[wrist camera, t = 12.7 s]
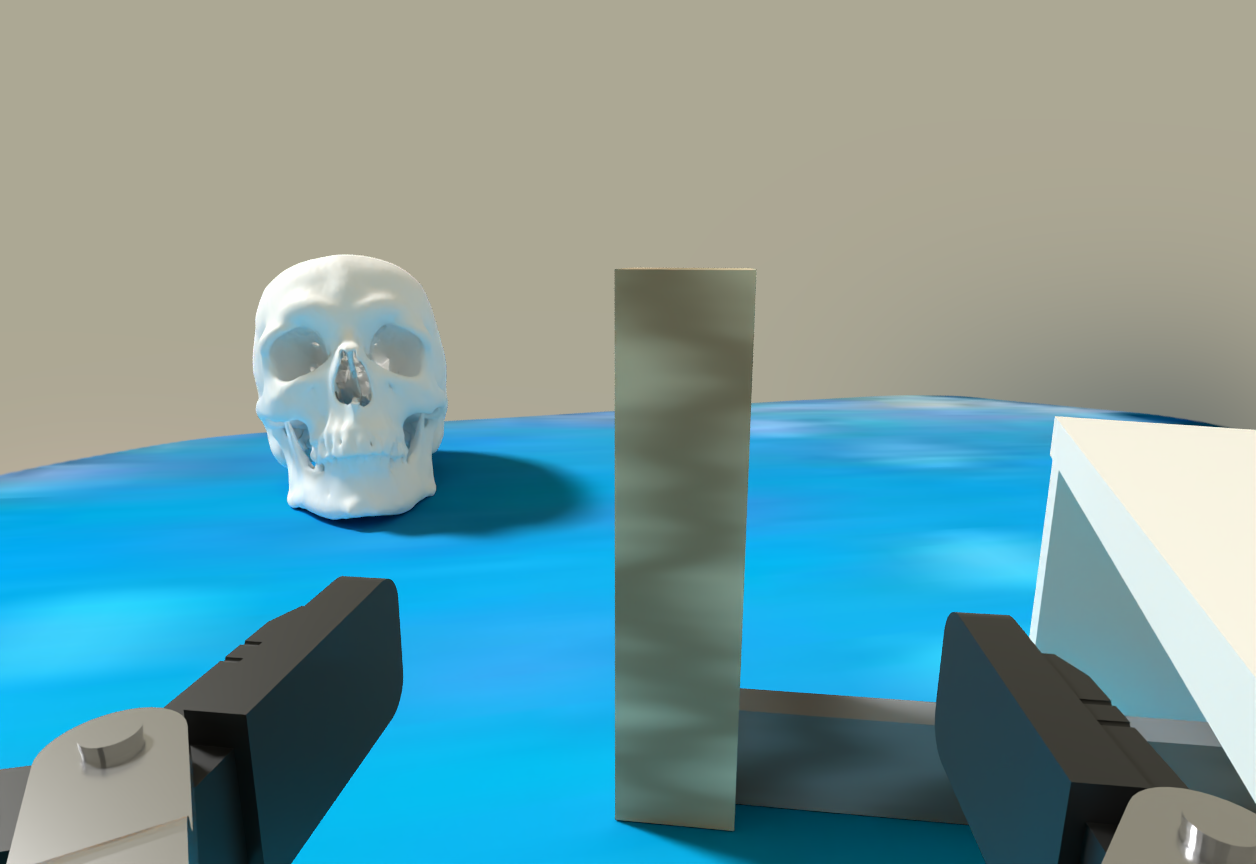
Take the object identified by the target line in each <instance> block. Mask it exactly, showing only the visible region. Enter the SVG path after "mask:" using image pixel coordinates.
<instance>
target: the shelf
mask: <svg viewBox="0 0 1256 864" xmlns="http://www.w3.org/2000/svg"><path fill="white" fill-rule="evenodd" d="M1050 456H1051V457H1052V459H1053V462H1052V470H1051V477H1050V485H1049V493H1048V500H1047V508H1046V515H1045V523H1044V531H1043V538H1042V546H1041V553H1040V561H1039V568H1038V576H1037V584H1036V591H1035V599H1034V606H1033V614H1032V622H1031V629H1030V637H1029V638H1030V639H1031V641H1032V642H1033V643H1034V644H1035V645H1036V647H1037V648H1038V649H1039V650H1040V652H1041V653H1047V654H1055V655H1057V656H1058V657H1060V658H1061V659H1063V660H1065V661H1066V662H1068V663H1069V664H1071V665H1073V666H1074V667H1076V668H1077V669H1079V670H1080V671H1082V672H1084V673H1085V674H1087V675H1088V676H1090V677H1091V679H1092V680H1093V681H1094V682H1095V683H1096V684H1097V685H1098V686H1099V688H1100V689H1101V690H1102V691H1103V692H1104V693H1105V694H1106V695H1107V697H1108V698H1109V699H1110V700H1111V704H1112V706H1116V707H1117V708H1118V709H1119V710H1120V711H1121V712H1122V714H1123V715H1124V716H1132V717H1146V718H1160V719H1173V720H1187V721H1201V722H1208V724H1209V725H1210V727H1211V729H1212V730H1213V732H1214V734H1215V735H1216V737H1217V739H1218V740H1219V742H1220V744H1221V746H1222V747H1223V749H1224V751H1225V752H1226V754H1227V756H1228V757H1229V759H1230V761H1231V763H1232V764H1233V766H1234V768H1235V769H1236V771H1237V773H1238V774H1239V776H1240V778H1241V779H1242V781H1243V783H1244V785H1245V786H1246V788H1247V790H1248V791H1249V793H1250V795H1251V796H1252V798H1253V800H1254V802H1255V803H1256V430H1248V429H1233V428H1218V427H1204V426H1189V425H1174V424H1159V423H1145V422H1130V421H1115V420H1101V419H1086V418H1071V417H1056V416H1055V421H1054V429H1053V436H1052V444H1051V452H1050Z"/></svg>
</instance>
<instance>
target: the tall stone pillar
mask: <svg viewBox="0 0 1256 864" xmlns="http://www.w3.org/2000/svg"><path fill="white" fill-rule="evenodd" d="M755 289H756V270H755V269H752V268H623V269H615V820H624V821H634V822H645V823H655V824H666V825H676V826H687V827H697V828H708V829H718V830H729V831H734V821H735V804H744V805H755V806H766V807H777V808H788V809H799V810H810V811H821V812H832V813H843V814H854V815H865V816H877V817H888V818H899V819H910V820H921V821H932V822H943V823H954V824H965V825H969V824H968V822H967V819H966V817H965V815H964V813H963V810H962V808H961V806H960V804H959V801H958V799H957V797H956V795H955V792H954V790H953V788H952V786H951V783H950V781H949V779H948V777H947V774H946V772H945V770H944V768H943V765H942V763H941V760H940V757H939V754H938V750H937V744H936V737H935V708H936V702H923V701H909V700H895V699H881V698H867V697H853V696H839V695H825V694H812V693H798V692H784V691H770V690H756V689H742V688H740V670H741V644H742V619H743V594H744V569H745V543H746V518H747V493H748V468H749V442H750V417H751V392H752V367H753V365H752V364H753V340H754V316H755V291H756V290H755ZM1125 717H1126V718H1127V719H1128V720H1129V721H1130V727H1134V728H1136V729H1137V730H1138V732H1139V733H1140V734H1141V735H1142V736H1143V737H1144V738H1145V739H1146V741H1147V742H1148V743H1149V744H1150V745H1151V746H1152V747H1153V749H1154V750H1155V751H1156V752H1157V753H1158V754H1159V755H1160V756H1161V758H1162V759H1163V760H1164V761H1165V762H1166V763H1167V764H1168V765H1169V767H1170V768H1171V769H1172V770H1173V771H1174V772H1175V773H1176V774H1177V776H1178V777H1179V778H1180V779H1181V780H1182V781H1183V782H1184V783H1185V785H1186V786H1187V787H1188V788H1189V789H1190V790H1194V791H1199V792H1202V793H1206V794H1210V795H1213V796H1216V797H1219V798H1222V799H1224V800H1227V801H1230V802H1232V803H1234V804H1237V805H1239V806H1241V807H1244V808H1245V809H1247V810H1249V811H1251V812H1253V813H1255V814H1256V803H1255V802H1254V800H1253V798H1252V796H1251V795H1250V793H1249V791H1248V790H1247V788H1246V786H1245V785H1244V783H1243V781H1242V779H1241V778H1240V776H1239V774H1238V773H1237V771H1236V769H1235V768H1234V766H1233V764H1232V763H1231V761H1230V759H1229V757H1228V756H1227V754H1226V752H1225V751H1224V749H1223V747H1222V746H1221V744H1220V742H1219V740H1218V739H1217V737H1216V735H1215V734H1214V732H1213V730H1212V729H1211V727H1210V725H1209V724H1208V722H1201V721H1187V720H1173V719H1160V718H1146V717H1132V716H1125Z"/></svg>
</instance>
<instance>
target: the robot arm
mask: <svg viewBox="0 0 1256 864" xmlns="http://www.w3.org/2000/svg"><path fill="white" fill-rule="evenodd" d="M402 685H403V665H402V650H401V635H400V619H399V604H398V593H397V589H396V586H395V584H394V582H393V581H392V580H390V579H381V578H364V577H346V576H341V577H339V578H337V579H336V580H334V581H333V582H332V583H331V584H330V585H329V586H327V587H326V588H325V589H324V590H323V591H322V592H320V593H319V594H318V595H317V596H316V597H315V598H313V599H312V600H311V601H310V602H309V603H308V604H306V605H305V606H301V607H299V608H297V609H294V610H292V611H290V612H288V613H286V614H284V615H282V616H280V617H277V618H275V619H273V620H271V621H269V622H267V623H266V624H265V625H264V626H263V627H261V628H260V629H259V630H258V631H256V632H255V633H254V634H253V635H252V636H250V637H249V638H248V639H247V640H245V644H244V645H239V646H238V647H237V648H236V649H235V650H233V651H232V652H231V653H230V654H228V655H227V656H226V658H225V661H220V662H219V663H217V664H216V665H215V666H214V667H213V668H211V669H210V670H209V671H208V672H207V673H205V674H204V675H203V676H202V677H200V678H199V679H198V680H197V681H196V682H194V683H193V684H192V685H191V686H189V687H188V688H187V689H186V690H185V691H183V692H182V693H181V694H180V695H178V696H177V697H176V698H175V699H174V700H172V701H171V702H170V703H169V704H168V705H166V706H165V707H164V708H153V707H150V708H136V709H129V710H124V711H119V712H115V713H111V714H108V715H104V716H101V717H98V718H96V719H93V720H90V721H88V722H86V723H83V724H81V725H79V726H77V727H75V728H73V729H71V730H69V731H67V732H65V733H64V734H62V735H61V736H59V737H57V738H56V739H55V740H53V741H52V742H51V743H49V744H48V745H47V746H46V747H45V748H44V749H43V750H42V751H41V752H40V753H39V754H38V755H37V757H36V758H35V759H34V761H33V764H32V766H25V767H17V768H9V769H1V770H0V864H291V863H292V862H293V860H294V859H295V857H296V856H297V854H298V853H299V852H300V850H301V849H302V847H303V846H304V844H305V843H306V842H307V840H308V839H309V837H310V836H311V834H312V833H313V831H314V830H315V829H316V827H317V826H318V824H319V823H320V821H321V820H322V819H323V817H324V816H325V814H326V813H327V811H328V810H329V809H330V807H331V806H332V804H333V803H334V801H335V800H336V798H337V797H338V796H339V794H340V793H341V791H342V790H343V788H344V787H345V786H346V784H347V783H348V781H349V780H350V778H351V777H352V776H353V774H354V773H355V771H356V770H357V768H358V767H359V765H360V764H361V763H362V761H363V760H364V758H365V757H366V755H367V754H368V753H369V751H370V750H371V748H372V747H373V745H374V744H375V743H376V741H377V740H378V738H379V737H380V735H381V734H382V732H383V731H384V730H385V728H386V727H387V725H388V724H389V722H390V721H391V720H392V718H393V716H394V714H395V712H396V710H397V707H398V704H399V701H400V697H401V692H402ZM935 737H936V744H937V750H938V754H939V757H940V760H941V763H942V765H943V768H944V770H945V772H946V774H947V777H948V779H949V781H950V783H951V786H952V788H953V790H954V792H955V795H956V797H957V799H958V801H959V804H960V806H961V808H962V810H963V813H964V815H965V817H966V819H967V822H968V824H969V826H970V828H971V831H972V833H973V835H974V837H975V840H976V842H977V844H978V846H979V849H980V851H981V853H982V855H983V858H984V860H985V862H986V864H1256V814H1255V813H1253V812H1251V811H1249V810H1247V809H1245V808H1244V807H1241V806H1239V805H1237V804H1234V803H1232V802H1230V801H1227V800H1224V799H1222V798H1219V797H1216V796H1213V795H1210V794H1206V793H1202V792H1199V791H1194V790H1190V789H1189V788H1188V787H1187V786H1186V785H1185V783H1184V782H1183V781H1182V780H1181V779H1180V778H1179V777H1178V776H1177V774H1176V773H1175V772H1174V771H1173V770H1172V769H1171V768H1170V767H1169V765H1168V764H1167V763H1166V762H1165V761H1164V760H1163V759H1162V758H1161V756H1160V755H1159V754H1158V753H1157V752H1156V751H1155V750H1154V749H1153V747H1152V746H1151V745H1150V744H1149V743H1148V742H1147V741H1146V739H1145V738H1144V737H1143V736H1142V735H1141V734H1140V733H1139V732H1138V730H1137V729H1136V728H1134V727H1130V721H1129V720H1128V719H1127V718H1126V717H1125V716H1124V715H1123V714H1122V712H1121V711H1120V710H1119V709H1118V708H1117V707H1116V706H1112V704H1111V700H1110V699H1109V698H1108V697H1107V695H1106V694H1105V693H1104V692H1103V691H1102V690H1101V689H1100V688H1099V686H1098V685H1097V684H1096V683H1095V682H1094V681H1093V680H1092V679H1091V677H1090V676H1088V675H1087V674H1085V673H1084V672H1082V671H1080V670H1079V669H1077V668H1076V667H1074V666H1073V665H1071V664H1069V663H1068V662H1066V661H1065V660H1063V659H1061V658H1060V657H1058V656H1057V655H1055V654H1047V653H1041V652H1040V650H1039V649H1038V648H1037V647H1036V645H1035V644H1034V643H1033V642H1032V641H1031V639H1030V638H1029V637H1028V636H1027V634H1026V633H1025V632H1024V631H1023V630H1022V628H1021V627H1020V626H1019V625H1018V623H1017V622H1016V621H1015V620H1014V619H1013V618H1012V617H1011V616H1009V615H994V614H976V613H959V612H952V613H951V614H950V615H949V616H948V618H947V621H946V625H945V630H944V638H943V647H942V656H941V665H940V673H939V682H938V691H937V700H936V708H935Z"/></svg>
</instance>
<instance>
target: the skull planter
mask: <svg viewBox="0 0 1256 864" xmlns="http://www.w3.org/2000/svg"><path fill="white" fill-rule="evenodd" d="M255 323H256V331H255V339H254V349H253V373H254V378H255V381H256V385H257V390H258V395H259V400H258V402H257V405H256V412H257V415H258V417H259V418H260V419H261V420H262V422H263V424H264V426H265V428H266V431H267V434H268V439H269V444H270V448H271V451H272V453H273V455H274V457H275V458H276V459H277V461H278V462H279V463H280V464H281V465H282V466H284V467H286V468H288V472H289V493H288V496H287V501H288V504H289V506H291V507H292V508H298V507H300V508H303V509H307V510H308V511H311V512H312V513H315V514H316V515H319V516H322V517H324V518H329V519H333V520H337V519H342V518H344V519H349V518H357V517H364V516H380V515H397V514H401V513H404V512H406V511H409V510H410V509H411V508H413V507H414V505H415V504H416V503H418V502H419V501H420V500H422V499H424V498H425V497H427V496H433V495H434V494H435V491H436V484H435V481H434V475H433V465H432V454H433V453H435V452H436V451H437V450H438V448H439V446H440V444H441V441H442V438H443V434H444V419H445V415H446V411H447V408H448V400H447V393H446V376H447V372H446V359H445V354H444V350H443V346H442V342H441V339H440V335H439V332H438V328H437V325H436V321H435V317H434V314H433V311H432V308H431V305H430V302H429V300H428V298H427V295H426V293H425V291H424V289H423V287H422V286H421V284H420V283H419V282H418V281H417V280H416V279H415V278H414V277H413V276H412V275H410V274H409V273H408V272H406V271H405V270H404V269H402V268H401V267H399V266H397V265H395V264H392V263H390V262H387V261H384V260H380V259H377V258H372V257H367V256H359V255H333V256H327V257H322V258H317V259H313V260H308V261H305V262H302V263H299V264H297V265H294V266H292V267H290V268H288V269H287V270H285V271H284V272H282V273H281V274H280V275H278V276H277V277H276V278H275V279H274V280H273V281H272V282H271V283H270V284H269V285H268V286H267V287H266V289H265V290H264V292H263V295H262V297H261V300H260V303H259V306H258V310H257V313H256V320H255ZM313 461H314V462H316V465H315V467H314V466H313V465H312V463H311V462H313Z"/></svg>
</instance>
